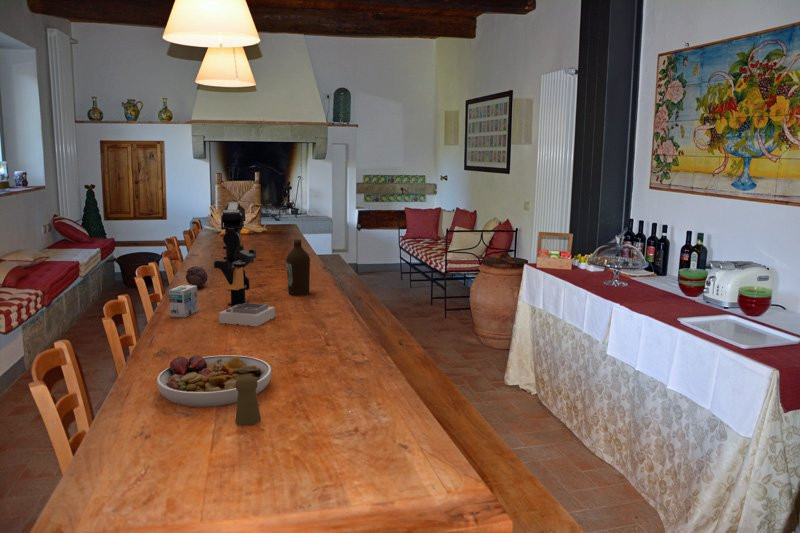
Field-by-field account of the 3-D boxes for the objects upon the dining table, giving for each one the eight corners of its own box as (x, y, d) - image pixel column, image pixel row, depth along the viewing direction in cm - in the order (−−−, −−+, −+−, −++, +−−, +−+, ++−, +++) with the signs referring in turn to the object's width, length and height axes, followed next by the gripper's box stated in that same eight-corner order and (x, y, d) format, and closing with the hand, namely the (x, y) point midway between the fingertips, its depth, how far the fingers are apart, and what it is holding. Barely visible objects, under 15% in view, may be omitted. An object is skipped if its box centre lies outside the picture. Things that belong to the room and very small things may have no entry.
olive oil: (307, 290, 298) (306, 236, 294) (313, 295, 289) (312, 239, 284) (284, 292, 294) (283, 238, 290) (290, 297, 284) (288, 241, 280)
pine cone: (209, 290, 298) (208, 268, 296) (187, 291, 295) (186, 270, 293) (206, 282, 314) (205, 262, 312) (185, 284, 311) (184, 263, 309)
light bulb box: (185, 317, 250) (183, 290, 248) (169, 317, 251) (167, 290, 249) (199, 311, 260) (197, 285, 258) (183, 310, 261) (182, 284, 259)
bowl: (291, 378, 186) (290, 351, 184) (231, 418, 158) (230, 388, 157) (203, 366, 196) (202, 341, 194) (133, 402, 168) (130, 373, 166)
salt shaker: (248, 413, 160) (247, 371, 158) (266, 419, 157) (264, 376, 155) (230, 421, 156) (227, 378, 154) (247, 427, 152) (245, 383, 150)
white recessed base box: (238, 313, 256) (238, 300, 255) (275, 317, 251) (274, 303, 250) (219, 323, 242) (218, 308, 241) (257, 326, 238) (256, 312, 237)
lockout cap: (232, 286, 253) (231, 266, 251) (243, 287, 251) (243, 267, 250) (225, 289, 248) (224, 268, 247) (237, 290, 247) (236, 269, 245)
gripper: (238, 247, 235) (240, 289, 238) (263, 241, 253) (265, 280, 256) (211, 246, 239) (213, 287, 241) (239, 240, 256) (240, 278, 259)
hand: (234, 283), depth 249 cm, fingers closed on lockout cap, 5 cm apart
